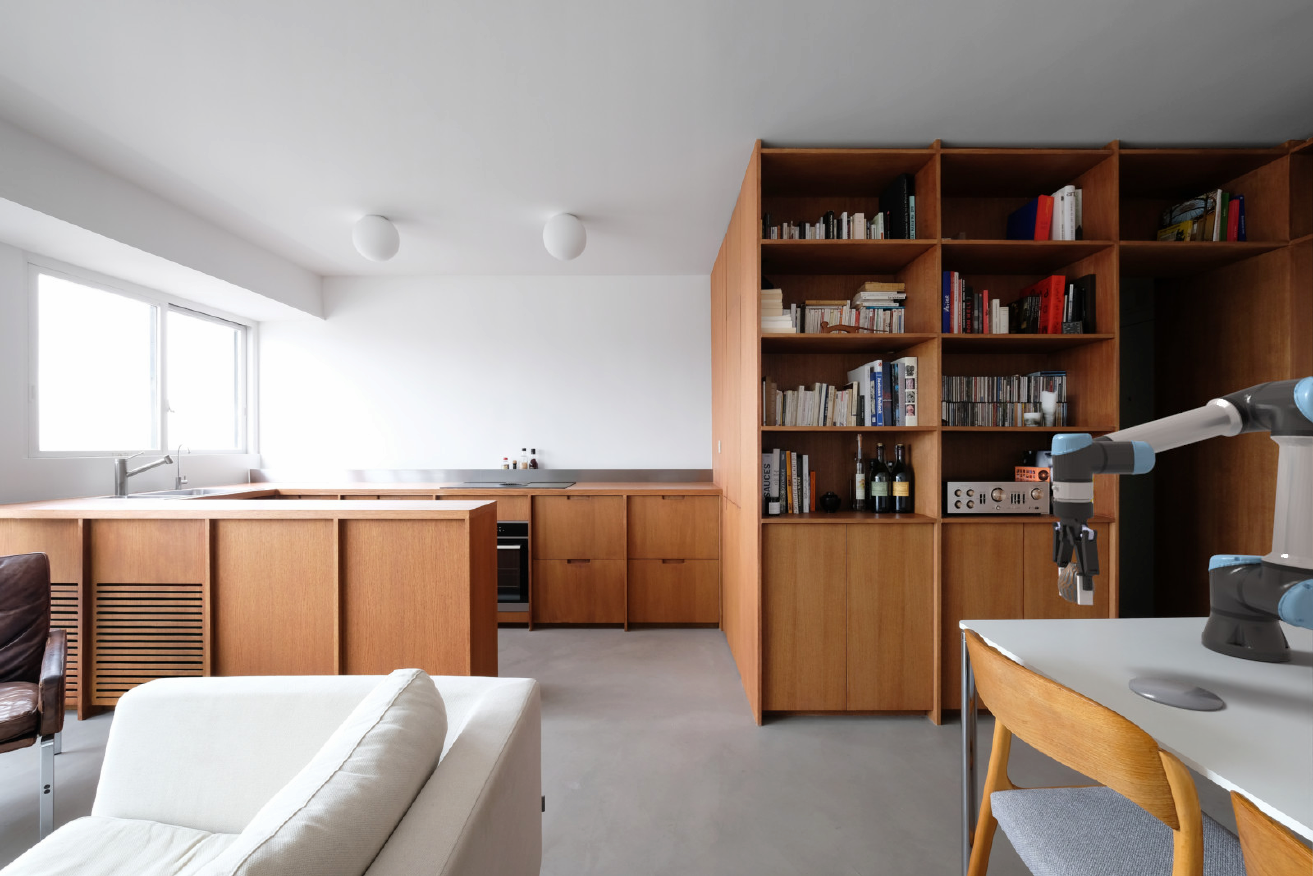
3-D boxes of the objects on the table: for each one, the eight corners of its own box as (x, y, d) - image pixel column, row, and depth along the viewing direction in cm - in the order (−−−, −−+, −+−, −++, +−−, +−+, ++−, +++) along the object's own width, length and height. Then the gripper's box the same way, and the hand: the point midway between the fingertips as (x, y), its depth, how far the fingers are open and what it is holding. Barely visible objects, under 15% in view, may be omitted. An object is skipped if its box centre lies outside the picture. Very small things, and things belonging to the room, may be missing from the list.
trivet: (1185, 681, 121) (1185, 678, 121) (1243, 712, 107) (1243, 709, 107) (1113, 678, 123) (1113, 675, 123) (1160, 708, 110) (1159, 705, 110)
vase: (1102, 605, 128) (1100, 566, 128) (1067, 604, 129) (1066, 566, 129) (1085, 597, 134) (1084, 560, 135) (1052, 596, 136) (1051, 559, 136)
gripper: (1033, 496, 142) (1036, 588, 142) (1080, 505, 123) (1083, 612, 123) (1066, 496, 141) (1069, 589, 141) (1118, 504, 122) (1121, 612, 122)
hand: (1075, 599), depth 132 cm, fingers closed on vase, 7 cm apart
